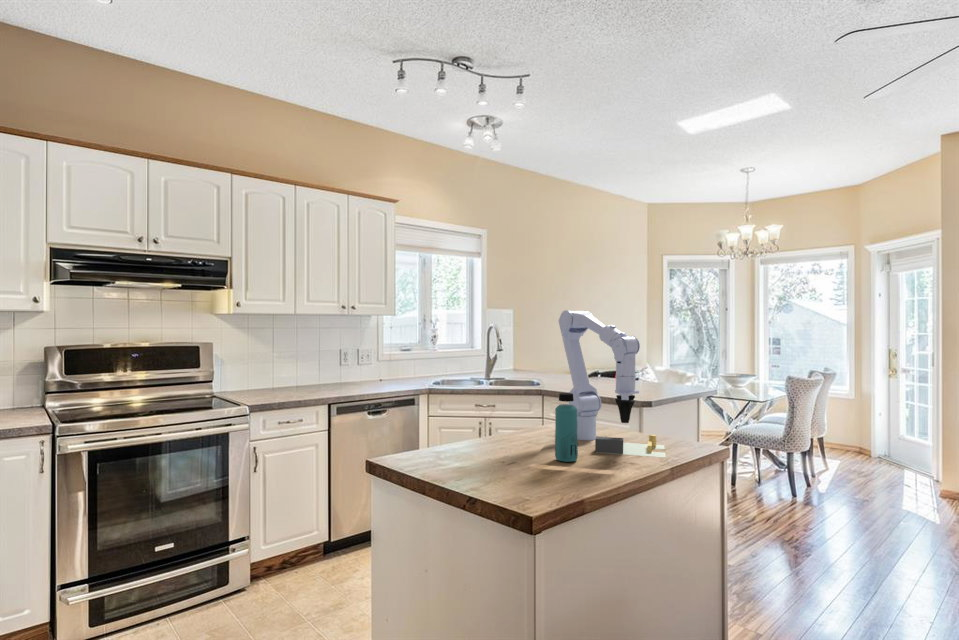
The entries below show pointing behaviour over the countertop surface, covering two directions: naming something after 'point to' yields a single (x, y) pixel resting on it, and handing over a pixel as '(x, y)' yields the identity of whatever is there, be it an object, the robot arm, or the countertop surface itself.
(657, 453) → the pale green u-shaped slab
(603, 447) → the tall gray prism
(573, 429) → the beverage bottle
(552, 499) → the countertop surface
